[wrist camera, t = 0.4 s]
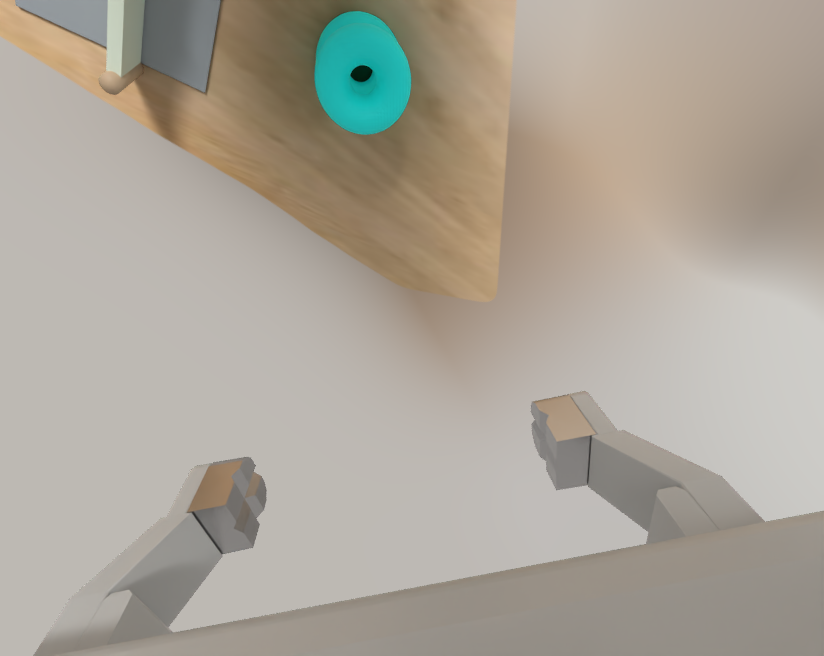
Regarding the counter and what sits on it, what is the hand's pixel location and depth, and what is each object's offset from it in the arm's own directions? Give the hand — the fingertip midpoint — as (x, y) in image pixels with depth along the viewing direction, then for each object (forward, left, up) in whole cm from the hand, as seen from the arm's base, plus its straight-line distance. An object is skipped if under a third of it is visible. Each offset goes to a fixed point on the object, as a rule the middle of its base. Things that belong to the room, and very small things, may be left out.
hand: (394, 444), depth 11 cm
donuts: (0, +2, -50) cm, 50 cm away
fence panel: (+8, -20, -49) cm, 54 cm away
